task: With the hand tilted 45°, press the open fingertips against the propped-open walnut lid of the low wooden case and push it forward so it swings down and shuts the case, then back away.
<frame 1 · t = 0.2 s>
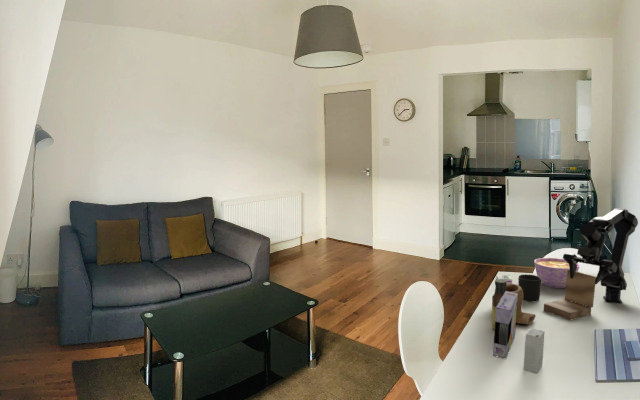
hand: (583, 281, 181), 15 cm above the table, tool tilted 35°, fingers open, 9 cm apart
bowl of food: (555, 286, 222), on the table
cake pan box: (504, 348, 156), on the table
tan boot: (512, 322, 179), on the table
pen holder: (528, 299, 204), on the table
wooden case: (566, 312, 187), on the table
case lid: (580, 287, 189), point 9 cm above the table, hinge at 94.0°
sauce bottle: (500, 331, 170), on the table
skincare box: (533, 369, 142), on the table
syrup box: (503, 310, 192), on the table
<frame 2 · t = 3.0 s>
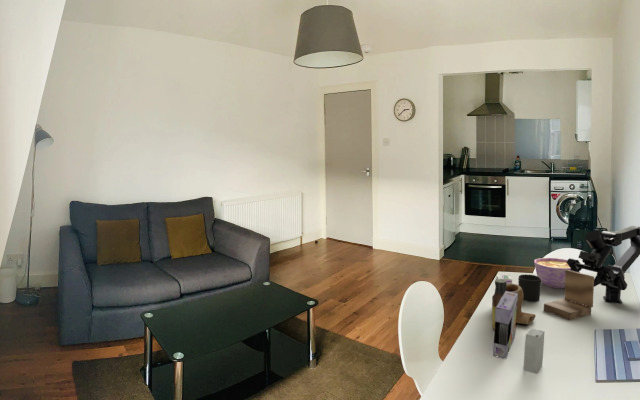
hand: (580, 284, 189), 11 cm above the table, tool tilted 45°
case lid: (579, 287, 189), point 10 cm above the table, hinge at 88.2°, touching gripper
everything else where it was.
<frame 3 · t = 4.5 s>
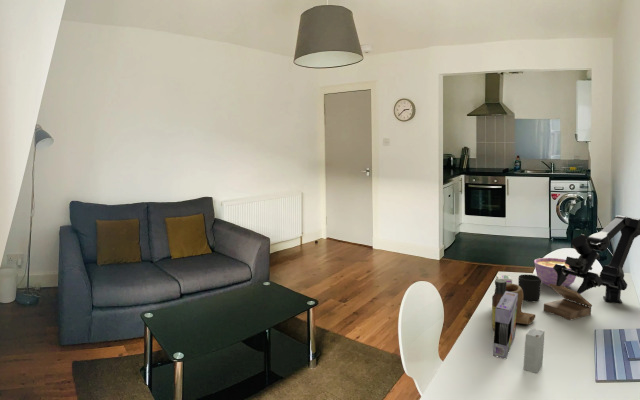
hand: (566, 290, 186), 10 cm above the table, tool tilted 45°
case lid: (570, 294, 187), point 7 cm above the table, hinge at 35.5°, touching gripper
everything else where it was.
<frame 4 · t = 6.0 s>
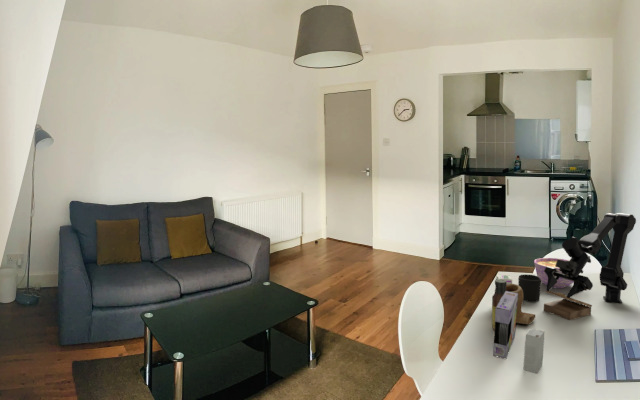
hand: (557, 293, 183), 9 cm above the table, tool tilted 45°, fingers open, 9 cm apart
case lid: (568, 297, 187), point 6 cm above the table, hinge at 22.0°
everything else where it was.
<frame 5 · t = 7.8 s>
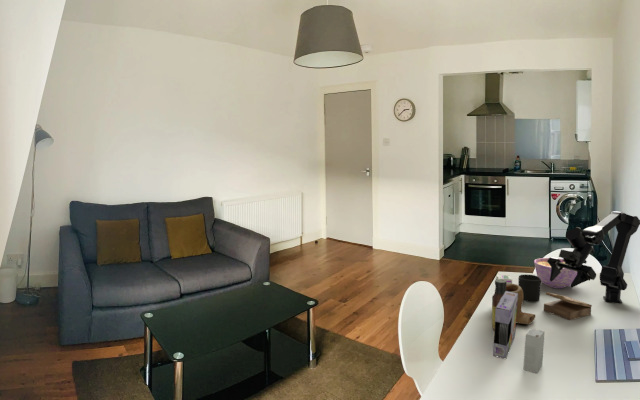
hand: (560, 283, 184), 13 cm above the table, tool tilted 45°, fingers open, 9 cm apart
case lid: (568, 299, 187), point 6 cm above the table, hinge at 17.5°
everything else where it was.
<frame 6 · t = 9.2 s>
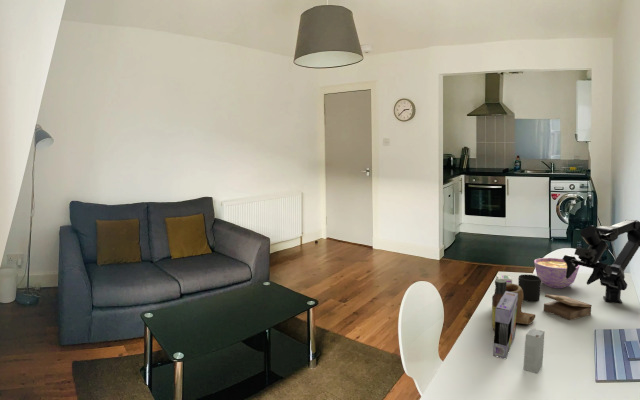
hand: (576, 281, 188), 13 cm above the table, tool tilted 45°, fingers open, 9 cm apart
case lid: (568, 300, 187), point 5 cm above the table, hinge at 13.3°
everything else where it was.
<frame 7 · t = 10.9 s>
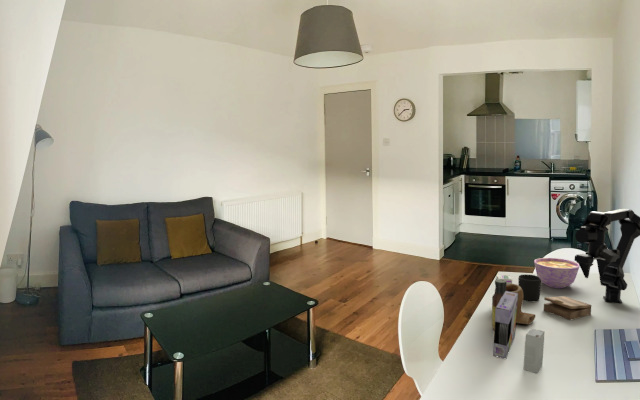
hand: (593, 276, 193), 13 cm above the table, tool pointing down, fingers open, 9 cm apart
case lid: (567, 301, 187), point 5 cm above the table, hinge at 7.4°
everything else where it was.
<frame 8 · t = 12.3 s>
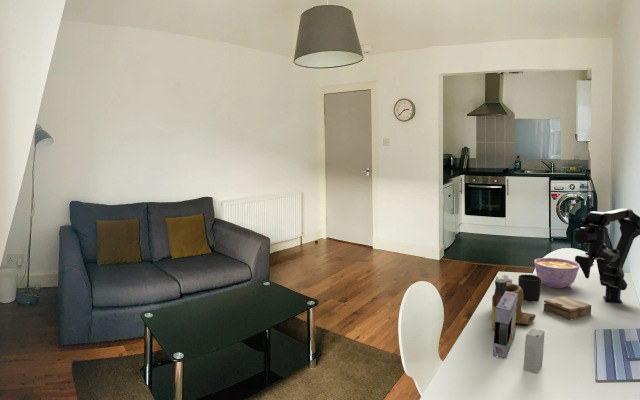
hand: (594, 276, 193), 13 cm above the table, tool pointing down, fingers open, 9 cm apart
case lid: (567, 303, 187), point 4 cm above the table, hinge at 2.0°
everything else where it was.
at the end: case lid at +2° (first picture: +94°) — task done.
